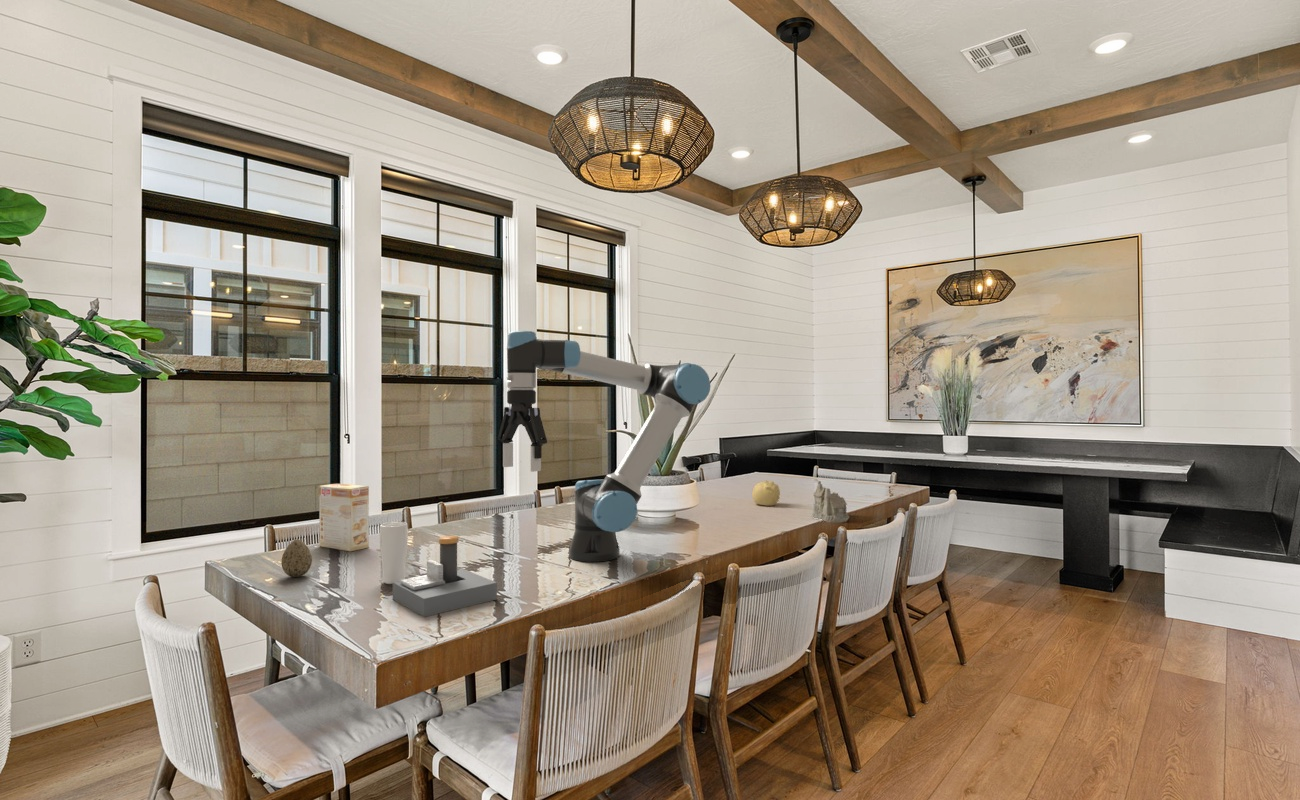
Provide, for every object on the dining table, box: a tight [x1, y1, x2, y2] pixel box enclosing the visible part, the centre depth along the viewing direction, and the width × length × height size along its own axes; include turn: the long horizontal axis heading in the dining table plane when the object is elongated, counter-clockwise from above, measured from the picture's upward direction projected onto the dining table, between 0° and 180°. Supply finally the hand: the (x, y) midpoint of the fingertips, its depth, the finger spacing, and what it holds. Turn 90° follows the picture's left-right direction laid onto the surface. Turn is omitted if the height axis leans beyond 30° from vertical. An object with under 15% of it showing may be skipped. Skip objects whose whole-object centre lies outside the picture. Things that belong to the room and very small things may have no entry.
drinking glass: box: [379, 521, 409, 585], centre depth 171 cm, size 7×7×15 cm
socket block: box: [392, 568, 498, 618], centre depth 157 cm, size 18×17×4 cm
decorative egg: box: [281, 538, 313, 578], centre depth 175 cm, size 7×7×10 cm
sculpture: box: [751, 480, 781, 507], centre depth 290 cm, size 12×12×11 cm
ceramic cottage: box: [811, 480, 850, 524], centre depth 260 cm, size 16×16×15 cm
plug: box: [438, 535, 460, 584], centre depth 159 cm, size 5×5×14 cm
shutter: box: [400, 559, 445, 590], centre depth 155 cm, size 8×8×4 cm
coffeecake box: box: [318, 483, 370, 552], centre depth 209 cm, size 15×7×20 cm, turn 63°
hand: (521, 469), depth 176 cm, fingers open, 13 cm apart
